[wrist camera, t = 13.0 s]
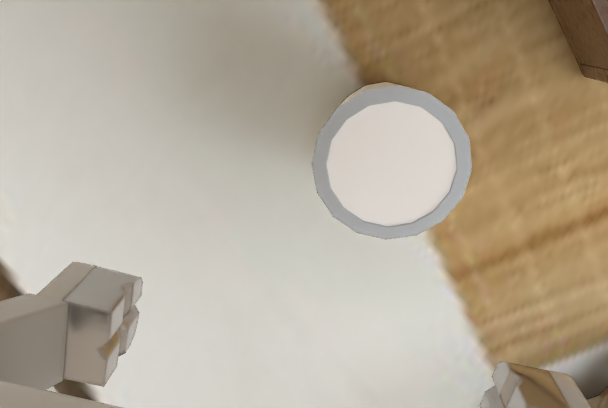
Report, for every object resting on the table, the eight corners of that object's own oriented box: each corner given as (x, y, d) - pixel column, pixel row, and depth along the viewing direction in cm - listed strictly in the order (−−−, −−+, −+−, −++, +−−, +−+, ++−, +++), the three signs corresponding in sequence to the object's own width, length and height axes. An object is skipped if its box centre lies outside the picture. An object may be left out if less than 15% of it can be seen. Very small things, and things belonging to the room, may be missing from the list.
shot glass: (345, 209, 31) (344, 260, 25) (301, 97, 30) (287, 121, 23) (461, 169, 30) (492, 211, 23) (423, 50, 28) (444, 60, 22)
